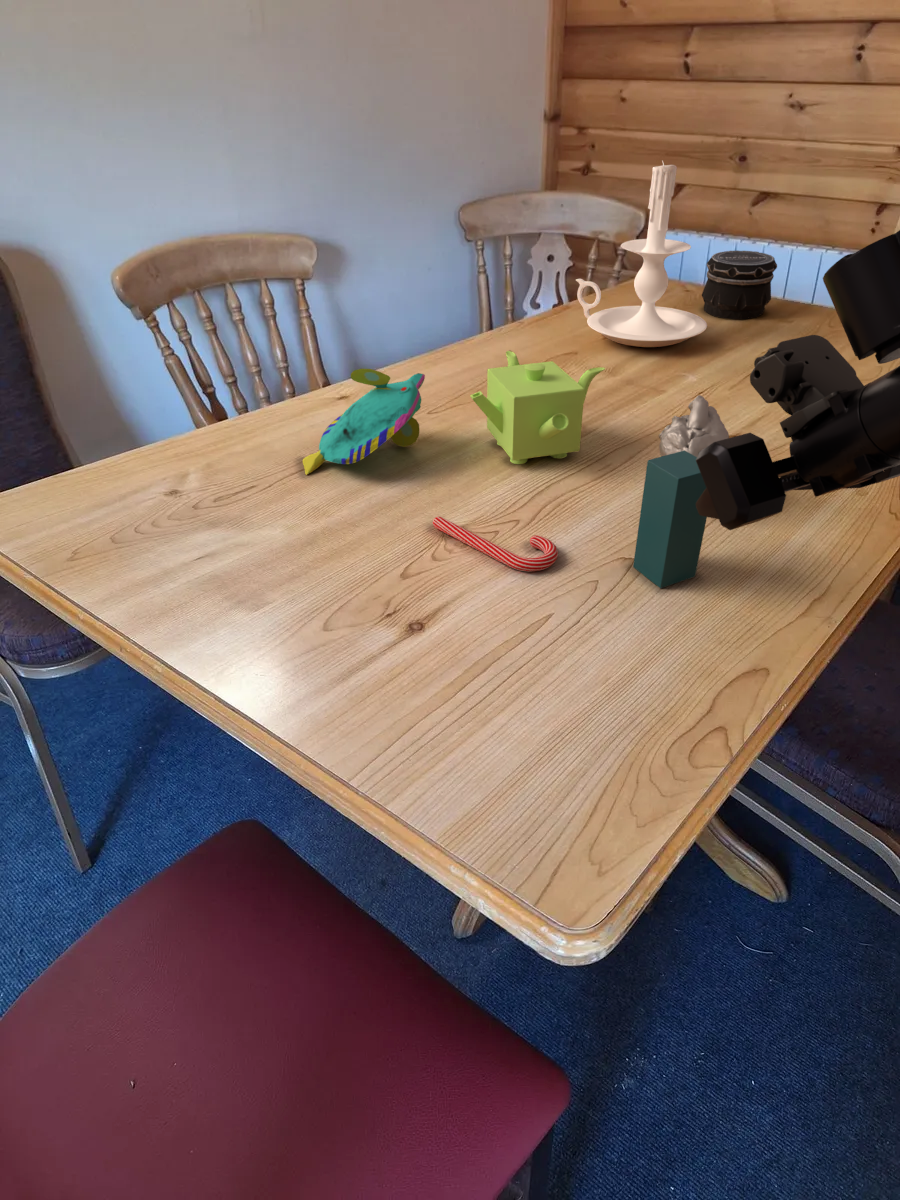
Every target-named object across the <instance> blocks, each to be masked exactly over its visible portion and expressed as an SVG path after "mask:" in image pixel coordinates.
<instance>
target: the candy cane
mask: <svg viewBox="0 0 900 1200" xmlns="http://www.w3.org/2000/svg"><path fill="white" fill-rule="evenodd" d="M432 526H433V527H434V528H435V529H437V530H438V531H441V532H442V533H444V534H446V535H448V536H451V537H452V538H454V539H456V540H458V541H460V542H462V543H464V544H465V545H468V546H469V547H471V548H473V549H475V550H477V551H479V552H480V553H483V554H484V555H486V556H488V557H491V558H492V559H494V560H496V561H498V562H500V563H502V564H504V565H506V566H508V567H509V568H512V569H514V570H517V571H520V572H539V571H543V570H545V569H548V568H549V567H551V566H552V565H554V564H555V562H556V561H557V560H558V555H559V552H558V548H557V546H556V544H555V543H554V542H552V541H551V540H550V539H549V538H546V537H544V536H541V535H538V534H537V535H536V534H535V535H532V536H531V537H530V538H529V544H530V546H531V547H532V548H533V549H537V550H540V551H541V552H543V553H544V554H542V555H540V556H537V557H536V556H535V557H524V556H523V557H522V556H519V555H517V554H515V553H513V552H511V551H509V550H508V549H505V548H503V547H501V546H500V545H498V544H496V543H493V542H492V541H490V540H488V539H485V538H484V537H481V536H480V535H477V534H475V533H473V532H472V531H470V530H468V529H466V528H464V527H462V526H460V525H458V524H456V523H454V522H452V521H450V520H448V519H446V518H444V517H443V516H436V517H434V518H433V519H432Z"/></svg>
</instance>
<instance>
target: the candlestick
mask: <svg viewBox="0 0 900 1200" xmlns="http://www.w3.org/2000/svg"><path fill="white" fill-rule="evenodd" d="M661 162H662V164H661V165H657V166H656V165H655V166H653V167H652V170H651V171H652V174H651V182H650V188H649V200H648V206H647V209H648V210H649V217H648V224H647V225H648V226H647V228H648V229H647V235H646V238H640V239H639V238H638V239H631V240H627V241H624V242H622V243H621V244H620V247H621V248H622V249H623V250H625V251H628V252H631V253H634V254H636V255H639V256H641V257H642V259H643V260H642V261H643V263H642V266H641V267H640V269H639V270H638V272H637V273H636V275H635V277H634V281H633V286H634V291H635V294H636V296H637V297H638V299H639V300H640V301H641V305H623V306H622V305H621V306H615V307H609V308H605V309H601V310H598V311H595V312H594V313H592V314H590V311H591V309H593V308H595V307H597V306H598V305H599V303H600V302H601V300H602V292H601V288H600V286H599V285H598V284H597V283H595V281H590V280H589V281H588V280H587V281H586V280H584V279H583V278H577V279H575V282H577V283H578V284H579V286H578V288H577V293H576V295H577V296H576V298H577V300H578V302H579V304H580V305H581V307H582V309H583V315H584V317H585V319H587V320H586V324H587V325H588V327H589V328H591V330H593V331H595V332H597V333H599V334H601V336H603V337H604V338H606V339H608V340H610V341H612V342H615V343H618V344H622V345H624V346H625V345H626V346H632V347H641V348H657V347H658V348H660V347H661V348H663V347H668V346H672V345H677V344H679V343H683V342H684V341H687V340H689V339H690V338H692V337H697V336H698V335H700V334H702V333H704V332H705V331H706V330H707V328H708V323H707V321H706V320H705V319H704V318H703V317H701V316H700V315H697V314H695V313H693V312H689V311H686V310H683V309H678V308H672V307H668V306H667V307H666V306H659V305H658V306H657V305H656V302H657V301H659V300H660V299H661V298H662V297H663V296H664V295H665V293H666V291H667V290H668V286H669V275H668V273H667V271H666V268H665V260H666V259H667V258H668V257H670V256H672V255H676V254H681V253H684V252H686V251H690V249H692V246H691V244H689V243H687V242H685V241H682V240H681V241H680V240H675V239H667V238H666V237H667V236H666V235H667V232H668V230H669V220H670V213H671V204H672V198H673V197H674V195H675V187H676V179H677V172H678V171H677V170H678V167H677V165H675V164H667V165H666V164H665V163H664V160H661ZM586 287H591V288H592V289H593V290H594V292H595V294H596V295H595V300H594V302H592V303H588V302H587V301H586V300H584V298H583V291H584V289H585V288H586Z"/></svg>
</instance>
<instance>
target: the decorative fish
mask: <svg viewBox="0 0 900 1200" xmlns="http://www.w3.org/2000/svg"><path fill="white" fill-rule="evenodd" d="M425 378H426V375H425V374H424V373H419V372H417V373H414V374H413V375H412V376H410V377H409V378H408V379H406V380H403V381H398V382H392V383H391V382H390V380H391V376H390V375H388V374H385V373H383V372H382V371H379V370H376V369H372V368H357V369H354V370H352V372H351V373H350V379H351V380H352V381H353V382H355V383H359V384H364V385H368V386H373V388H372V389H370V391H368V392H366V393H365V394H364V395H362V396H361V397H360V398H358V399H357V400H356V401H355V402H353V403H352V404H351V405H350V406H349V407H348V408H347V409H345V411H344V412H343V413H342V414H340V415H339V416H338V417H337V418H335V419H334V420H333V421H332V422H331V423H330V424H328V425H327V426H326V428H325V430H324V431H323V433H322V435H321V437H320V439H319V440H320V441H319V443H318V451H317V452H315V453H311V454H309V455H306V456H305V457H304V458H303V459H302V465H303V469H304V474H305V475H306V476H307V475H309V474H311V473H312V472H314V471H315V470H316V469H318V468H319V467H320V466H321V465H323V464H324V463H325V462H327V461H328V462H331V463H334V464H338V465H339V464H340V465H350V464H355V463H357V462H360V461H361V460H363V459H365V458H366V457H368V456H369V455H371V454H372V453H373V452H375V451H376V450H377V449H378V448H379V447H380V446H382V445H383V444H384V443H386V442H387V441H388V440H389V439H390V438H391V441H392V443H394V444H395V445H396V446H399V447H403V448H404V447H411V446H412V445H414V444H415V443H417V441H418V439H419V436H420V429H421V428H420V423H419V422H418V420H417V419H416V418H414V415H415V414H416V413H417V412H418V411H419V410H420V409H421V407H422V406H421V404H422V396H421V393H420V391H419V390H420V388H421V387H422V386H423V384H424V382H425ZM389 382H390V383H389Z"/></svg>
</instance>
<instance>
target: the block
mask: <svg viewBox="0 0 900 1200" xmlns="http://www.w3.org/2000/svg"><path fill="white" fill-rule="evenodd" d="M696 459H697V457H695V456H694V455H692V454H690V453H688V452H687V451H685V450H684V451H680V452H677V453H673V454H669V455H665V456H662V457H661V456H657V457H655V458H651V459H648V460H647V462H646V469H645V478H644V485H643V492H642V500H641V505H640V506H641V507H640V513H639V519H638V520H639V521H638V527H637V536H636V543H635V550H634V556H633V564H632V568H633V569H635V570H636V571H637V572H638V573H640V574H641V575H642V576H644V577H645V578H646V579H647V580H649V581H650V582H651V583H653V584H654V585H655V586H657V587H658V588H659V589H663V588H666V587H670V586H672V585H675V584H677V583H681V582H684V581H687V580H689V579H693V578H695V577H696V574H697V569H698V565H699V559H700V555H701V551H702V550H701V549H702V545H703V538H704V535H705V529H706V523H707V518H708V517H705V516H700V515H699V513H698V510H697V508H696V502H697V501H698V499H699V498H700V496H701V495H702V493H703V492H704V490H705V489H706V485H705V483H704V480H703V478H702V475H701V473H700V470H699V468H698V465H697V462H696Z"/></svg>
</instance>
